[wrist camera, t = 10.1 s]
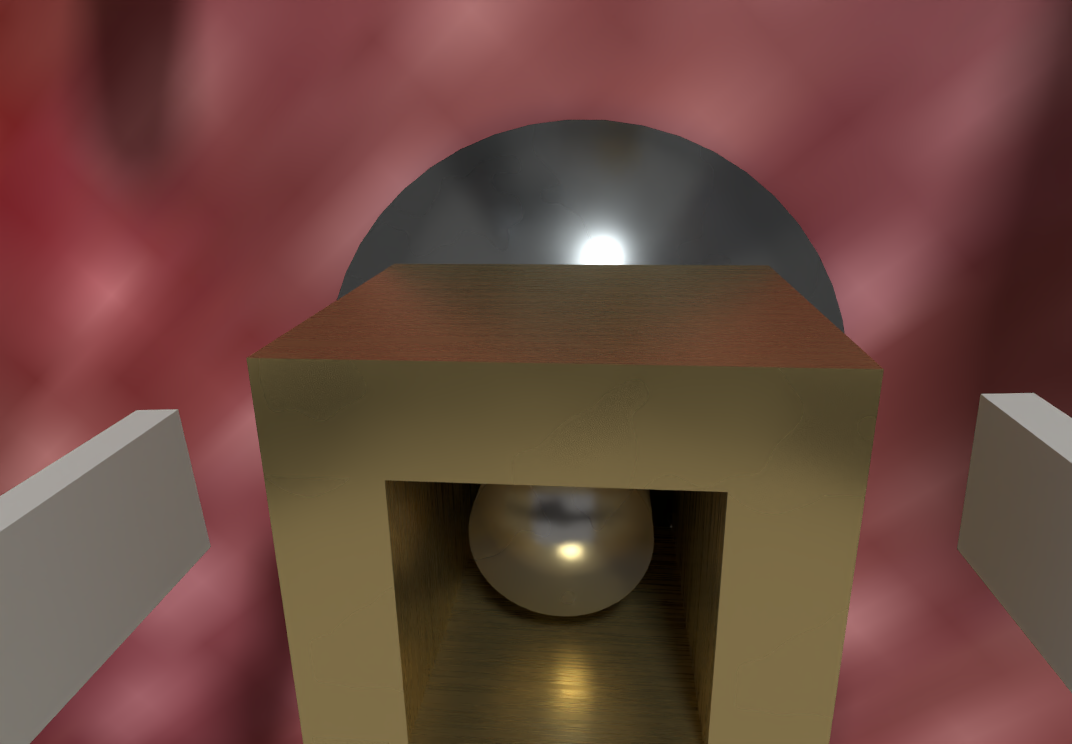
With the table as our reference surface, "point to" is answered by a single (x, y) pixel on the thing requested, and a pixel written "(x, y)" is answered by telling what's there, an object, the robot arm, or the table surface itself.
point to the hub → (584, 239)
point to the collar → (573, 461)
